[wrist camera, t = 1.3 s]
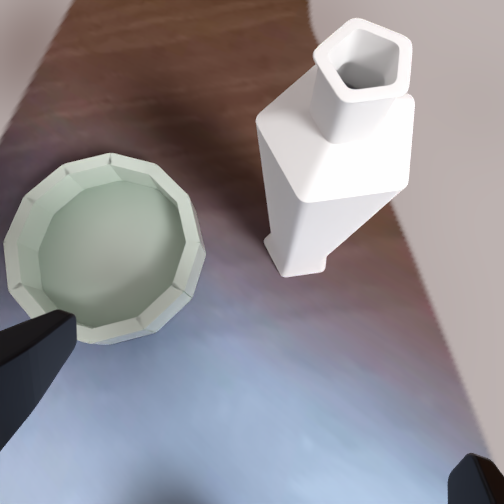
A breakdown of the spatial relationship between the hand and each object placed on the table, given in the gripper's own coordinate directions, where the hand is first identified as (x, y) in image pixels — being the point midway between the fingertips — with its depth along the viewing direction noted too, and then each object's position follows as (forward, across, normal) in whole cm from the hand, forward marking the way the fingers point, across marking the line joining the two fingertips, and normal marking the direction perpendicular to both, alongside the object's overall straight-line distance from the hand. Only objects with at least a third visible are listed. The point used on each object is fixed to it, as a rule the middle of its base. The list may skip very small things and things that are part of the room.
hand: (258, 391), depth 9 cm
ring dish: (+12, +10, +7) cm, 17 cm away
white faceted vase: (+14, 0, +4) cm, 15 cm away
